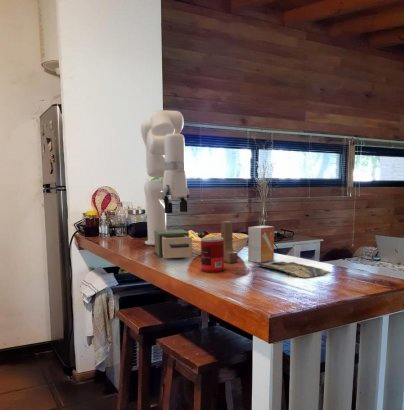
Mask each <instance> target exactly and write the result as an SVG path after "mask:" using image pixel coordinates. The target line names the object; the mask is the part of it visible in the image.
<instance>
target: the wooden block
mask: <svg viewBox="0 0 404 410" xmlns="http://www.w3.org/2000/svg"><path fill="white" fill-rule="evenodd" d="M220 237H222V238H224V263H227V264H235V263H238V252H236V251H235V250H234V248H233V245H234V243H233V221H225V220H224V221H220Z"/></svg>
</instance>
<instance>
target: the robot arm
mask: <svg viewBox="0 0 404 410" xmlns="http://www.w3.org/2000/svg"><path fill="white" fill-rule="evenodd" d="M184 125H185V120H184V115H183V114H182V113H181V111H179V110H165V109H161V110H155V111H154V112H152V113H151V114H150V117H149V119H148V120H144V121H143V122H141V125H140V133H141V138H142V141H143V143H144V146H145V147H144V148H145V154H146V155H145V159H146V160H145V161H146V163H145V164H146V173H147V175H148V177H150V178H162V179H151V180H148V181H146V182H145V183H144V186H143V192H144V197H145V205H146V225H147V228H146V229H147V240H145V241H144V245H146V246H147V245H148V246H155V236H154V230H167V214H169V215H170V214H173V202H172V201H173V200H176V199H179V200H180V201H179V212H180V213H187V212H188V202H189V198H190V192H191V190H190V189H189V188H188V182H187V174H186V155H185V154H186V153H185V152H186V151H185V150H186V142H185V136H184V134H182V133H181V132H182V130H183V129H184Z"/></svg>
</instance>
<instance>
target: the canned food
mask: <svg viewBox="0 0 404 410" xmlns="http://www.w3.org/2000/svg"><path fill="white" fill-rule="evenodd" d="M200 263H201V267H200V268H201V271H202V272H205V273H220V272H223V271H224V269H225V262H224V238H222V237H221V236H205V237H201V238H200Z"/></svg>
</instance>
